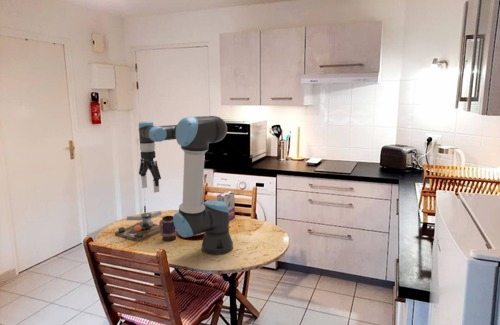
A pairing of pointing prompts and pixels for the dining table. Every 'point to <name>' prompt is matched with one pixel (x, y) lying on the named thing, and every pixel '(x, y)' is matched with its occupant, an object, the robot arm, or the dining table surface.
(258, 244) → the dining table surface
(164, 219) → the mug
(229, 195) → the candy bar box
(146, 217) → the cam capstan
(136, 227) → the ball
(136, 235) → the walnut stand
